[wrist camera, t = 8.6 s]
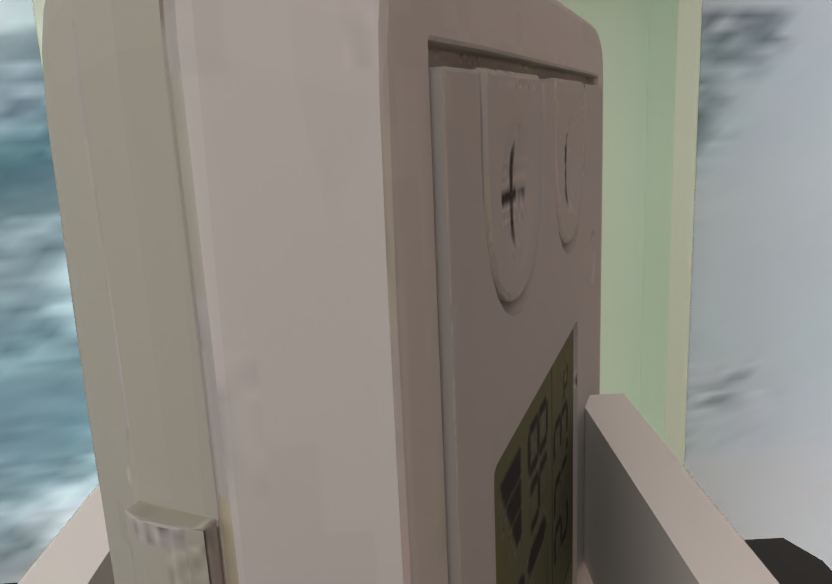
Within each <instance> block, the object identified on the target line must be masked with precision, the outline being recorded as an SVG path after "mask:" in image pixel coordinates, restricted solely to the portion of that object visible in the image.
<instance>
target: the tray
mask: <svg viewBox="0 0 832 584" xmlns="http://www.w3.org/2000/svg"><path fill="white" fill-rule="evenodd" d="M557 1H559V2H560V3H562V4H563V5H564V6H566V7H567V8H569V9H570V10H572V11H573V12H574V13H576V14H577V15H579V16H580V17H581V18H583V19H584V20H585V21H587V22H588V23H590V24H591V25H592V26H593V27H594V28H595V29H596V31H597V33H598V35H599V39H600V43H601V47H602V58H603V165H602V250H601V331H600V394H617V393H624V394H625V396H626V397H627V398H628V399H629V401H630V402H631V403H632V404H633V405H634V407H635V408H636V409H637V410H638V412H639V413H640V414H641V415H642V416H643V418H644V419H645V420H646V421H647V423H648V424H649V425H650V426H651V427H652V429H653V430H654V431H655V432H656V433H657V435H658V436H659V437H660V438H661V440H662V441H663V442H664V443H665V444H666V446H667V447H668V448H669V449H670V451H671V452H672V453H673V454H674V455H675V457H676V458H677V459H678V460H679V462H680V463H681V464H682V465H683V466H684V455H685V429H686V403H687V377H688V352H689V326H690V300H691V275H692V249H693V223H694V197H695V172H696V146H697V120H698V94H699V69H700V43H701V17H702V0H557ZM32 2H33V9H34V15H35V22H36V28H37V35H38V42H39V48H40V55H41V61H42V34H43V11H44V5H45V0H32ZM42 68H43V64H42Z"/></svg>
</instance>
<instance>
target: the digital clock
mask: <svg viewBox="0 0 832 584" xmlns="http://www.w3.org/2000/svg"><path fill="white" fill-rule="evenodd" d="M42 64H43V75H44V87H45V99H46V111H47V122H48V130H49V137H50V144H51V151H52V158H53V166H54V173H55V180H56V187H57V194H58V202H59V209H60V216H61V223H62V230H63V238H64V245H65V252H66V259H67V266H68V274H69V281H70V288H71V295H72V302H73V309H74V317H75V324H76V331H77V338H78V345H79V353H80V359H81V366H82V373H83V380H84V387H85V394H86V401H87V407H88V414H89V421H90V428H91V435H92V441H93V448H94V454H95V461H96V467H97V473H98V480H99V486H100V492H101V499H102V505H103V512H104V518H105V524H106V531H107V537H108V543H109V550H110V556H111V562H112V569H113V575H114V582H115V584H593V582H592V579H591V577H590V574H589V572H588V570H587V567H586V565H585V563H584V483H585V406H586V403H587V401H588V398H589V396H590V395H598V394H600V331H601V250H602V165H603V58H602V47H601V43H600V39H599V35H598V33H597V31H596V29H595V28H594V27H593V26H592V25H591V24H590V23H588V22H587V21H585V20H584V19H583V18H581V17H580V16H579V15H577V14H576V13H574V12H573V11H572V10H570V9H569V8H567V7H566V6H564V5H563V4H562V3H560V2H559V1H557V0H45V5H44V11H43V34H42Z"/></svg>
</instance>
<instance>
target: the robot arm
mask: <svg viewBox="0 0 832 584" xmlns="http://www.w3.org/2000/svg"><path fill="white" fill-rule="evenodd" d="M584 563H585V565H586V567H587V570H588V572H589V574H590V577H591V579H592V582H593V584H832V571H831V570H830V568H829V567H828V566H827V565H826V564H825V563H824V562H823V561H822V560H820V559H818V558H817V557H815V556H813V555H811V554H810V553H808V552H806V551H805V550H803V549H801V548H799V547H798V546H796V545H794V544H793V543H791V542H789V541H787V540H786V539H784V538H772V539H754V540H743V538H742V537H741V536H740V535H739V534H738V532H737V531H736V530H735V529H734V527H733V526H732V525H731V524H730V523H729V521H728V520H727V519H726V518H725V517H724V515H723V514H722V513H721V512H720V510H719V509H718V508H717V507H716V506H715V504H714V503H713V502H712V501H711V499H710V498H709V497H708V496H707V495H706V493H705V492H704V491H703V490H702V488H701V487H700V486H699V485H698V484H697V482H696V481H695V480H694V479H693V477H692V476H691V475H690V474H689V473H688V471H687V470H686V469H685V468H684V466H683V465H682V464H681V463H680V462H679V460H678V459H677V458H676V457H675V455H674V454H673V453H672V452H671V451H670V449H669V448H668V447H667V446H666V444H665V443H664V442H663V441H662V440H661V438H660V437H659V436H658V435H657V433H656V432H655V431H654V430H653V429H652V427H651V426H650V425H649V424H648V423H647V421H646V420H645V419H644V418H643V416H642V415H641V414H640V413H639V412H638V410H637V409H636V408H635V407H634V405H633V404H632V403H631V402H630V401H629V399H628V398H627V397H626V396H625V394H624V393H617V394H598V395H590V396H589V398H588V401H587V403H586V406H585V483H584ZM6 584H115V582H114V575H113V569H112V562H111V556H110V550H109V543H108V537H107V531H106V524H105V518H104V512H103V505H102V499H101V492H100V486H99V484H98V485H97V486H96V488H95V489H94V490H93V491H92V493H91V494H90V495H89V496H88V498H87V499H86V500H85V501H84V502H83V504H82V505H81V506H80V507H79V509H78V510H77V511H76V512H75V514H74V515H73V516H72V517H71V518H70V520H69V521H68V522H67V523H66V525H65V526H64V527H63V528H62V530H61V531H60V532H59V533H58V535H57V536H56V537H55V538H54V539H53V541H52V542H51V543H50V544H49V546H48V547H47V548H46V549H45V551H44V552H43V553H42V554H41V555H40V557H39V558H38V559H37V560H36V562H35V563H34V564H33V565H32V567H31V568H30V569H29V570H28V571H27V573H26V574H25V575H24V576H23V578H22V579H21V580H20V581H19V583H6Z"/></svg>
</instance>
